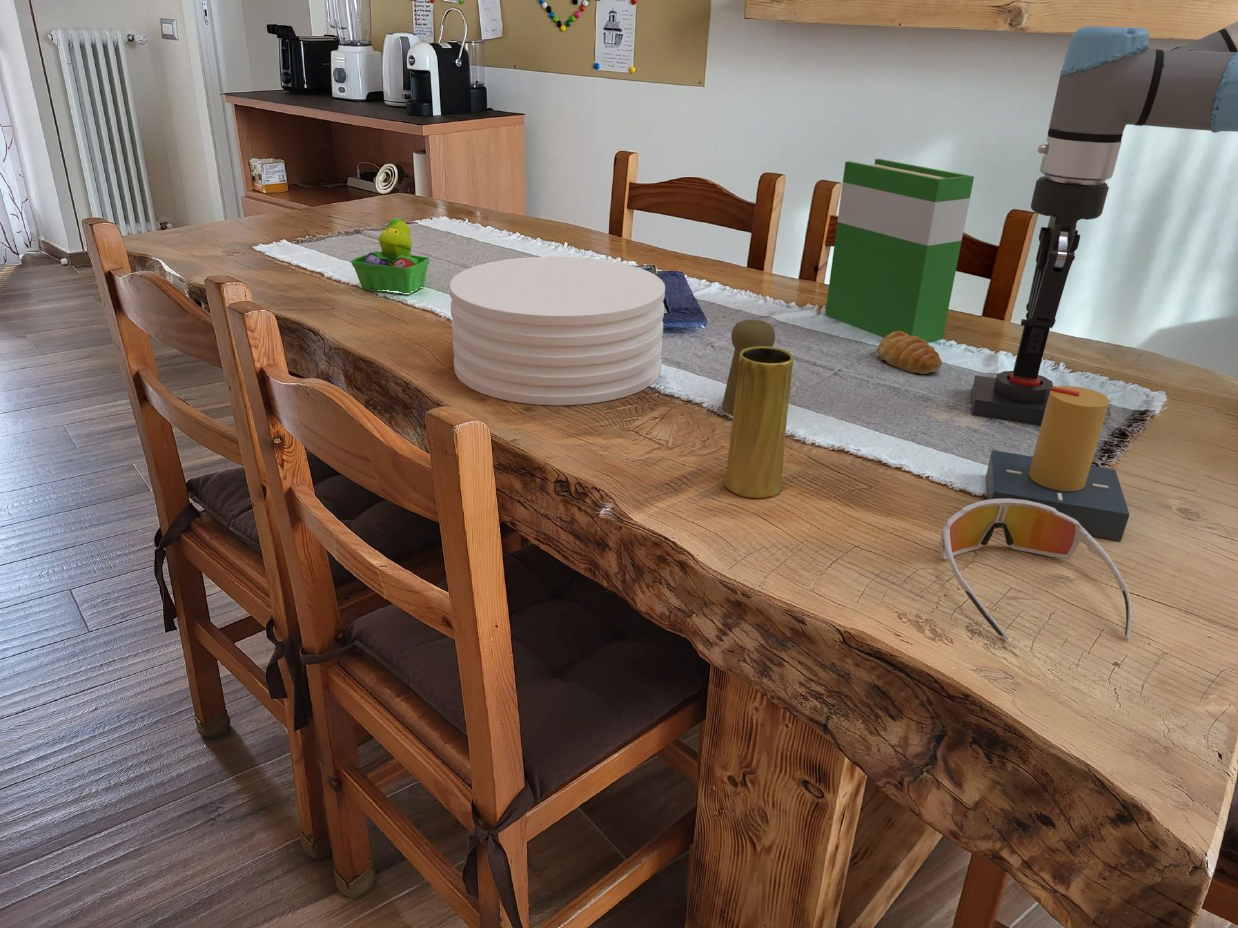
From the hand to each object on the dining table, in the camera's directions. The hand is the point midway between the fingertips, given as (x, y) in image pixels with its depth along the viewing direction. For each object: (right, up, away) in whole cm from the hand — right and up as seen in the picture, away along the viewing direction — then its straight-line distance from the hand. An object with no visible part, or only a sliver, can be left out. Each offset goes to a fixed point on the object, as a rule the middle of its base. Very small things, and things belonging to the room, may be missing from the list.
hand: (1024, 375), depth 113 cm
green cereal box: (-9, +10, +31) cm, 34 cm away
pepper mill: (-35, -4, 0) cm, 35 cm away
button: (0, -2, +1) cm, 2 cm away
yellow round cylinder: (-7, -13, -22) cm, 26 cm away
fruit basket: (-89, +19, +43) cm, 100 cm away
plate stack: (-59, +2, +12) cm, 60 cm away
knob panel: (-7, -15, -21) cm, 26 cm away
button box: (0, -4, +2) cm, 5 cm away
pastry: (-9, +3, +16) cm, 19 cm away
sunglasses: (-15, -22, -34) cm, 43 cm away
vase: (-36, -13, -18) cm, 43 cm away
